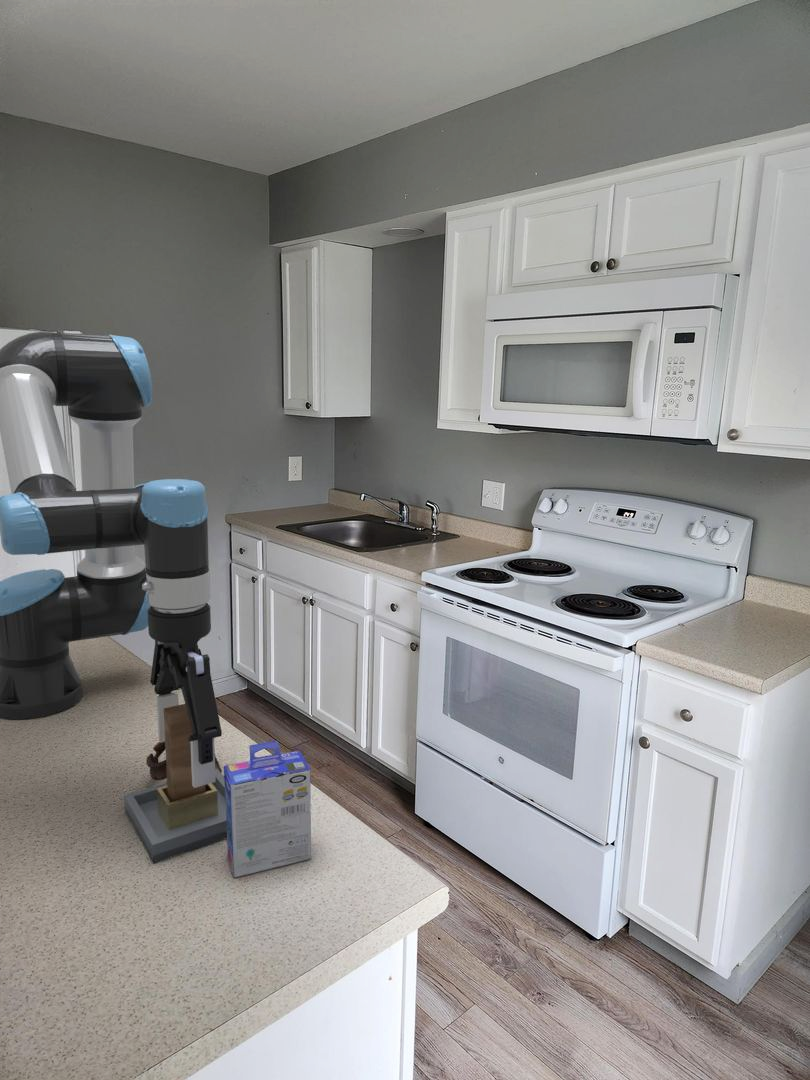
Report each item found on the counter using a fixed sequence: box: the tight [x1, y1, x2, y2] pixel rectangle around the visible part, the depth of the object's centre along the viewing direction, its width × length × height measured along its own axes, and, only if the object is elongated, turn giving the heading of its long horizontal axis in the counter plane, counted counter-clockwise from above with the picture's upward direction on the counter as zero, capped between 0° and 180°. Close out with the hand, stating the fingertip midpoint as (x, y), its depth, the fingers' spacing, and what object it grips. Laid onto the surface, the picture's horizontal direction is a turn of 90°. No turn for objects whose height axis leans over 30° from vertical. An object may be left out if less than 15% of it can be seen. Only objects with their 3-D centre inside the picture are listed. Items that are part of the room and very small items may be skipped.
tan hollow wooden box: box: [157, 783, 218, 830], centre depth 97 cm, size 5×6×4 cm
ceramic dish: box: [123, 768, 227, 864], centre depth 97 cm, size 13×13×2 cm
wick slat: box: [164, 703, 206, 802], centre depth 96 cm, size 3×4×15 cm, turn 125°
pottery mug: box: [145, 741, 223, 781], centre depth 108 cm, size 12×10×8 cm
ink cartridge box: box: [223, 740, 312, 878], centre depth 89 cm, size 10×6×14 cm, turn 114°
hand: (185, 760), depth 95 cm, fingers open, 13 cm apart
